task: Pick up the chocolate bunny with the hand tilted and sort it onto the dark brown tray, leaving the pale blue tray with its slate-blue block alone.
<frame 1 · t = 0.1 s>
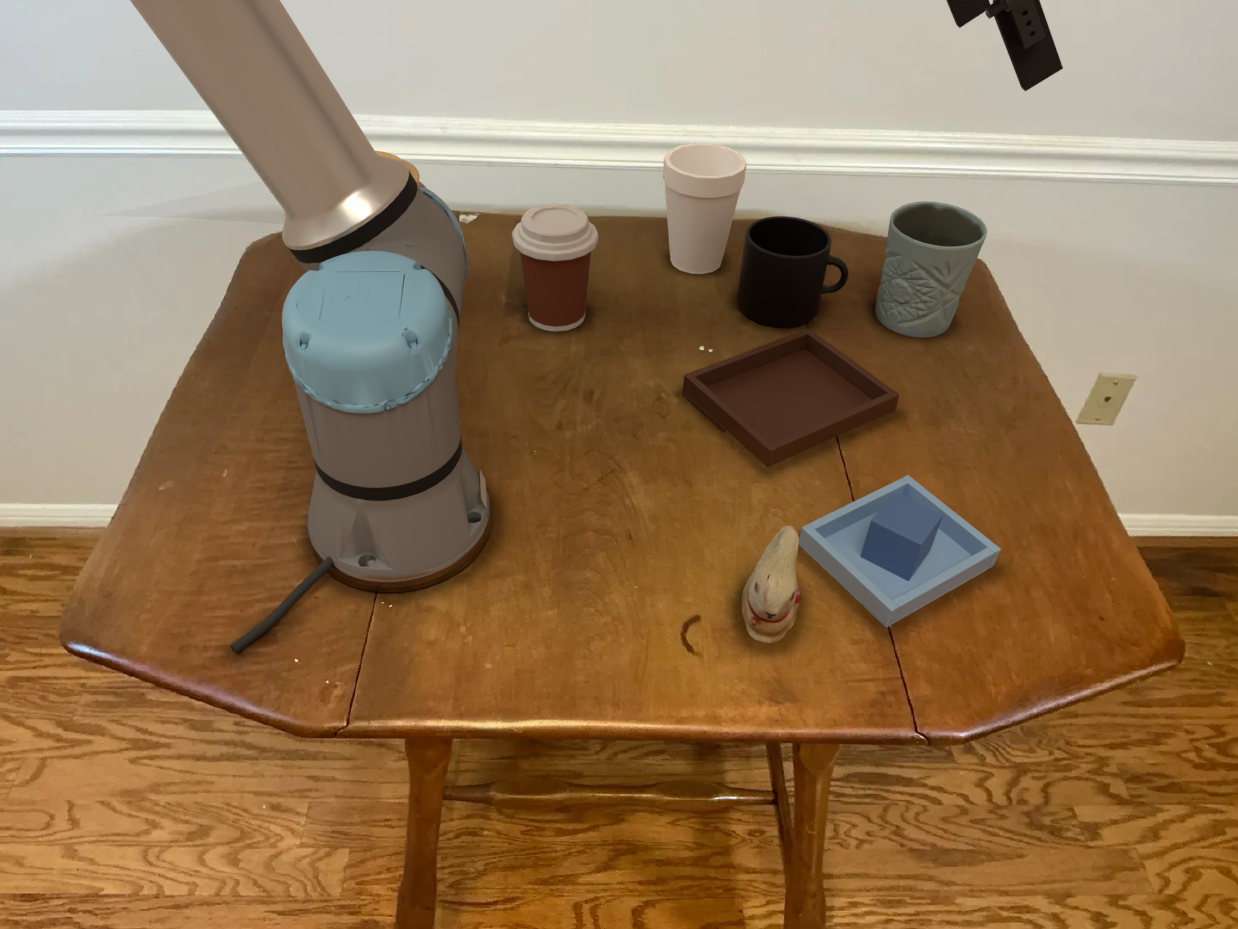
hand: (1005, 45, 71), 36 cm above the table, tool tilted 35°, fingers open, 13 cm apart
drinking glass: (911, 319, 109), on the table
chocolate bunny: (767, 614, 76), on the table
slate-blue block: (895, 554, 80), point 1 cm above the table, touching blue tray
brown tray: (787, 404, 96), on the table
kitchen canister: (383, 295, 109), on the table
coffee cup: (556, 316, 107), on the table
blue tray: (893, 558, 81), on the table
foam cup: (695, 262, 117), on the table
mug: (787, 308, 110), on the table
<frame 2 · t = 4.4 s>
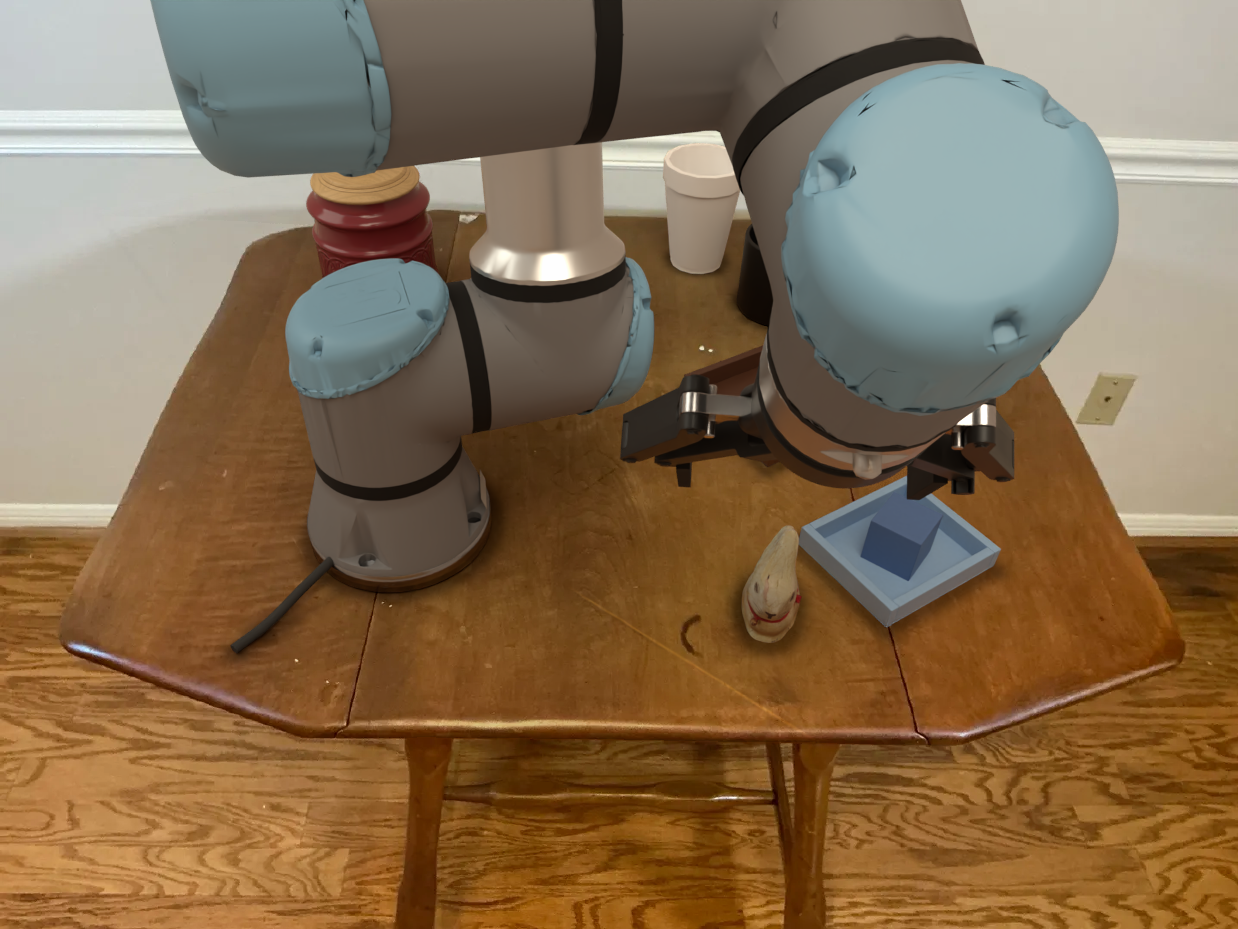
hand: (798, 471, 57), 21 cm above the table, tool tilted 40°, fingers open, 13 cm apart
nothing on the table moved.
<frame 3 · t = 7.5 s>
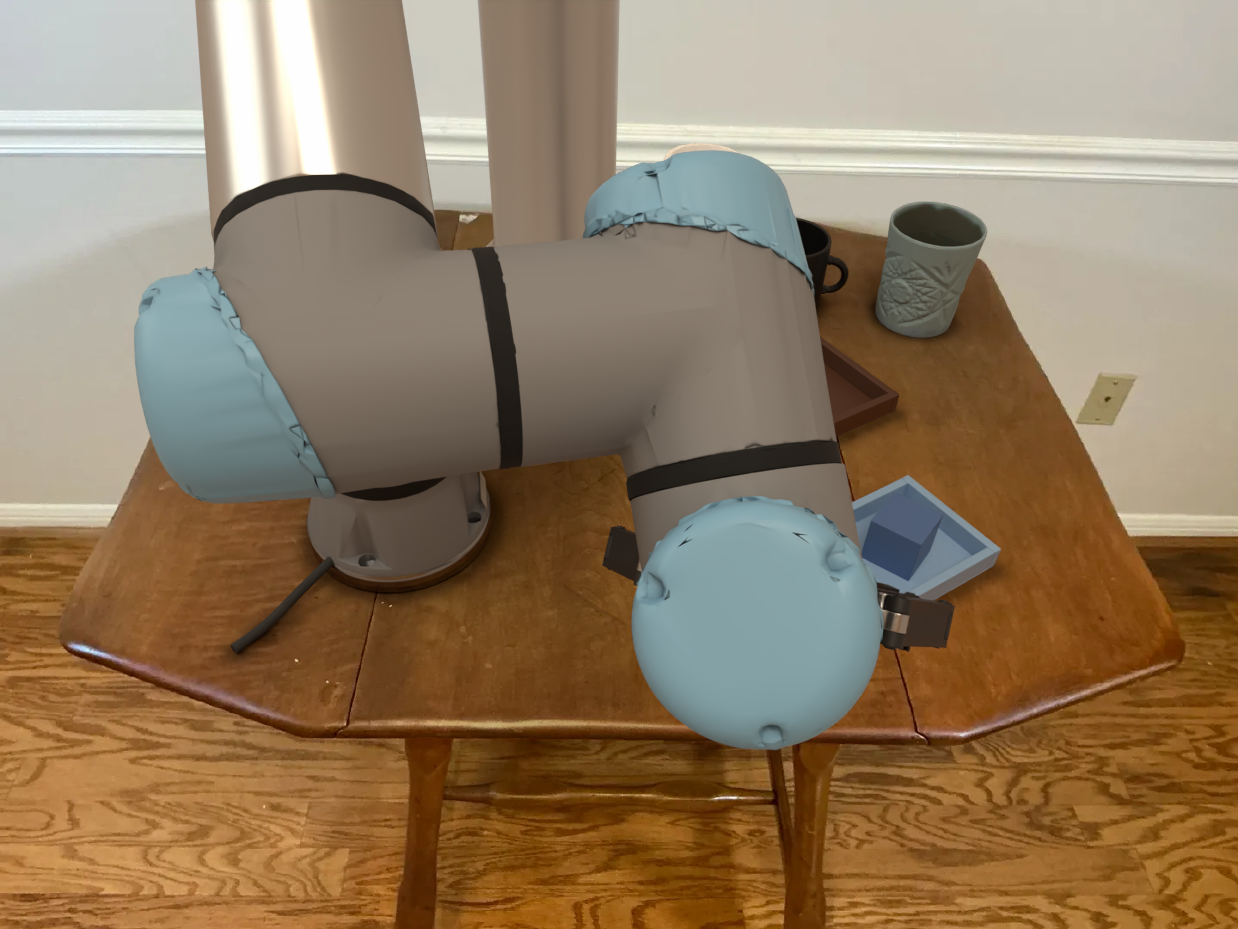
hand: (774, 579, 63), 12 cm above the table, tool tilted 45°, fingers open, 13 cm apart
nothing on the table moved.
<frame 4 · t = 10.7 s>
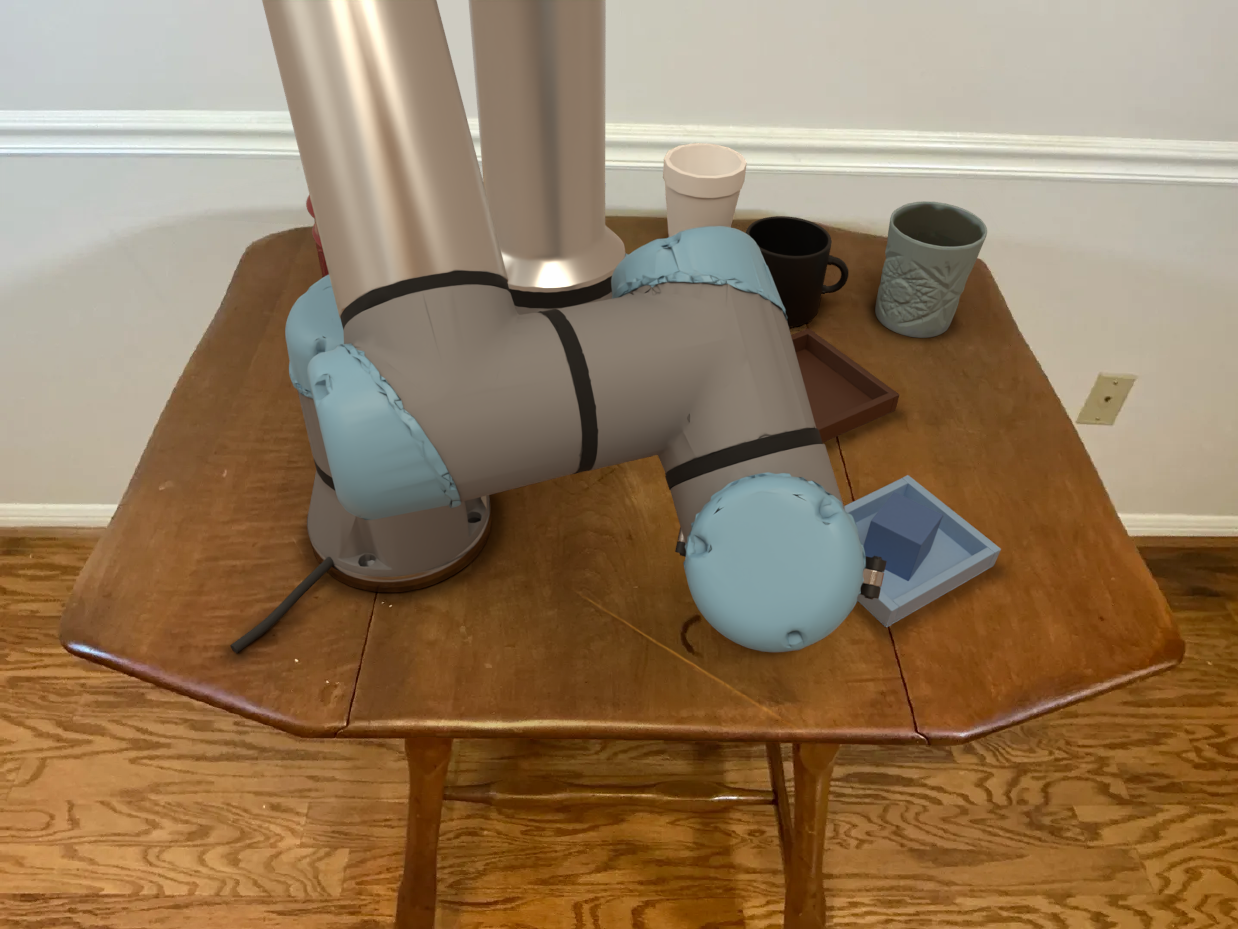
hand: (780, 552, 76), 3 cm above the table, tool tilted 45°, fingers closed on chocolate bunny, 3 cm apart
chocolate bunny: (768, 615, 76), on the table, touching gripper
everything else where it was.
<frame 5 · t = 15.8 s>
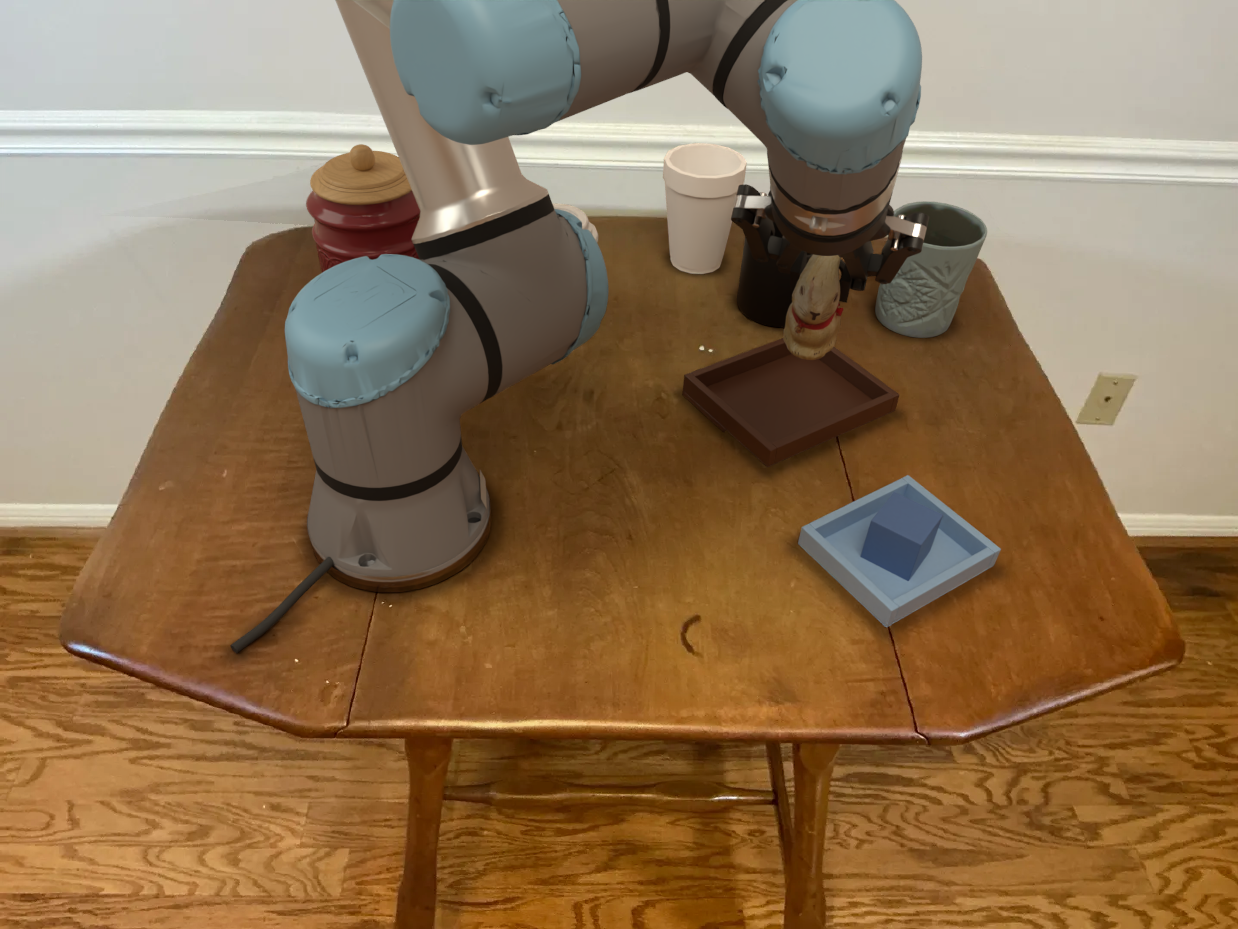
hand: (822, 282, 81), 17 cm above the table, tool tilted 45°, fingers closed on chocolate bunny, 3 cm apart
chocolate bunny: (809, 339, 80), point 14 cm above the table, touching gripper
everything else where it was.
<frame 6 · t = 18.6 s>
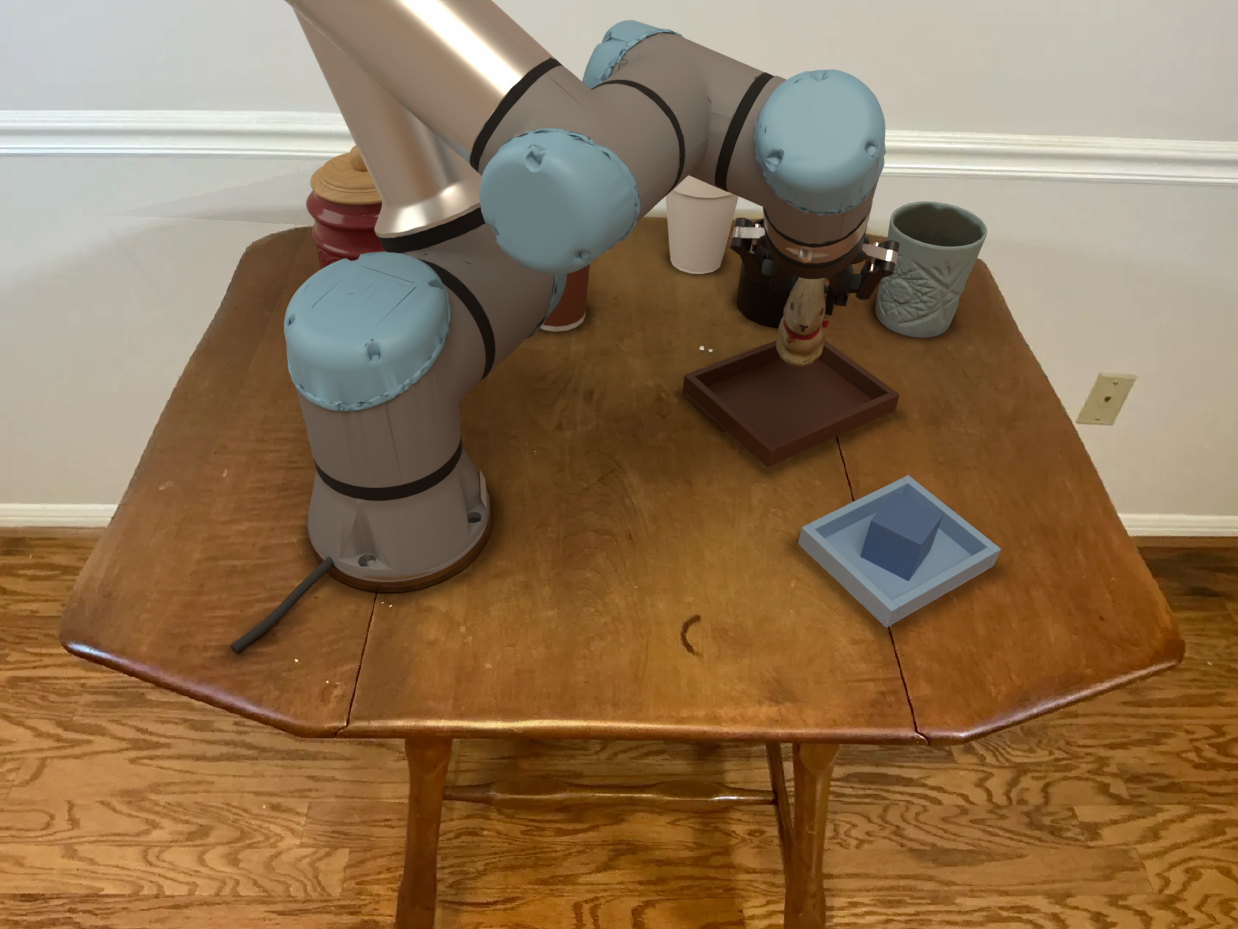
hand: (809, 297, 92), 10 cm above the table, tool tilted 45°, fingers closed on chocolate bunny, 3 cm apart
chocolate bunny: (799, 348, 91), point 7 cm above the table, touching gripper
everything else where it was.
when the fingers open (4 cm above the table, at t = 20.7 s): chocolate bunny stays where it is, resting on brown tray.
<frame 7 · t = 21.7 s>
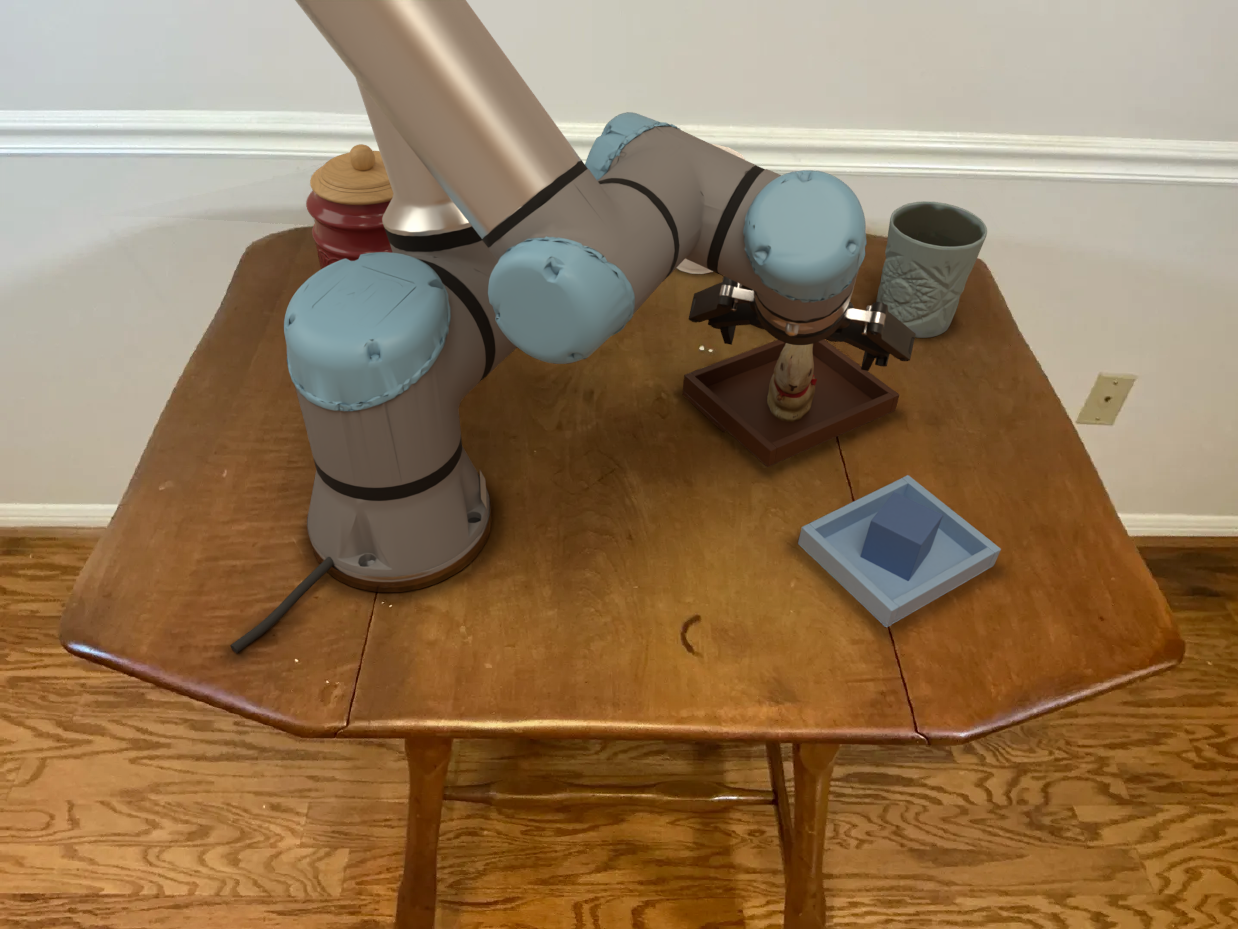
hand: (798, 343, 94), 6 cm above the table, tool tilted 45°, fingers open, 13 cm apart
chocolate bunny: (789, 402, 96), resting on brown tray
everything else where it was.
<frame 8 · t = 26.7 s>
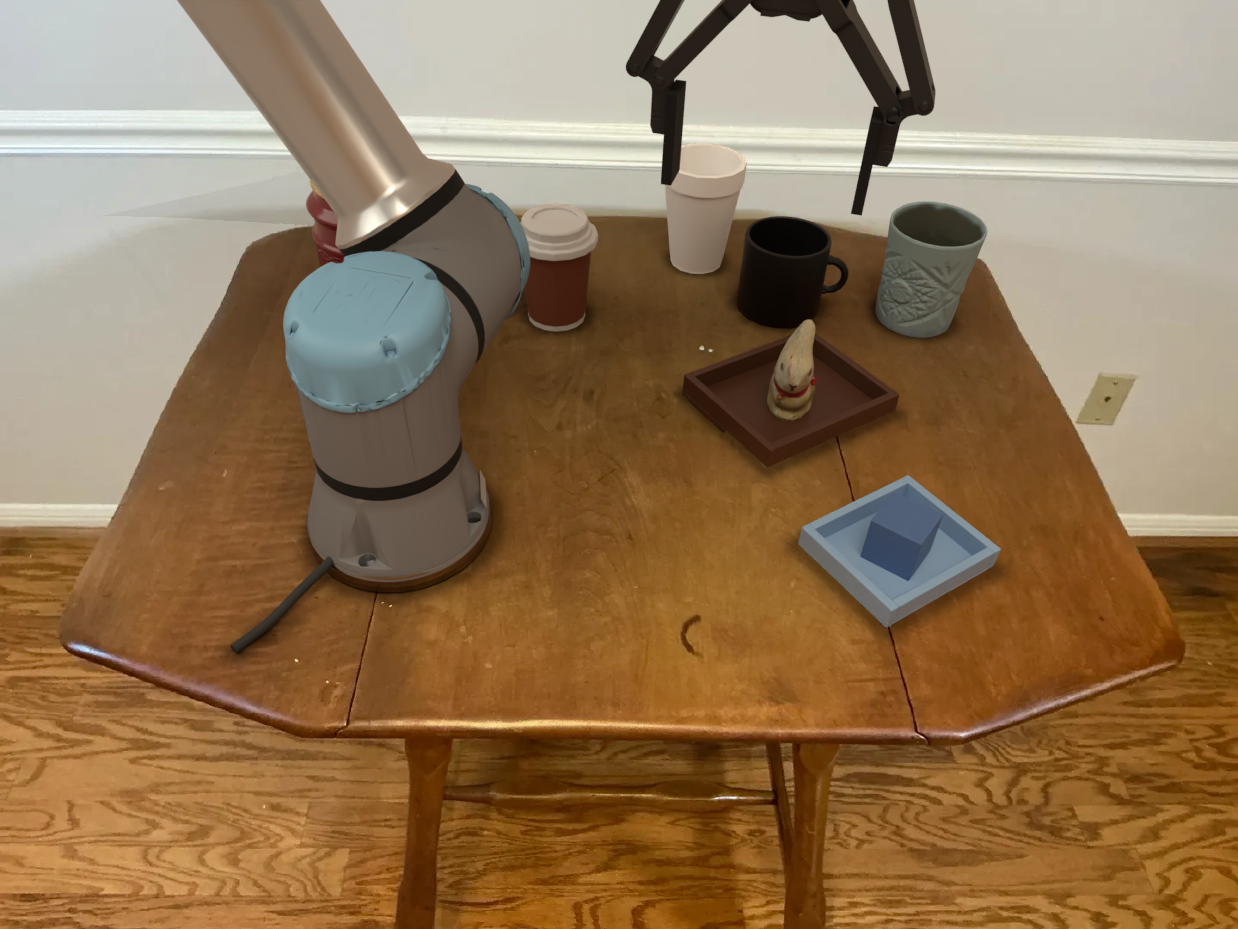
hand: (762, 191, 68), 29 cm above the table, tool pointing down, fingers open, 13 cm apart
nothing on the table moved.
at the end: chocolate bunny inside the target area in the brown tray (0.2 cm from its centre), point 0.4 cm above the brown tray's base; chocolate bunny tilted 0°; the gripper is holding nothing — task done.
